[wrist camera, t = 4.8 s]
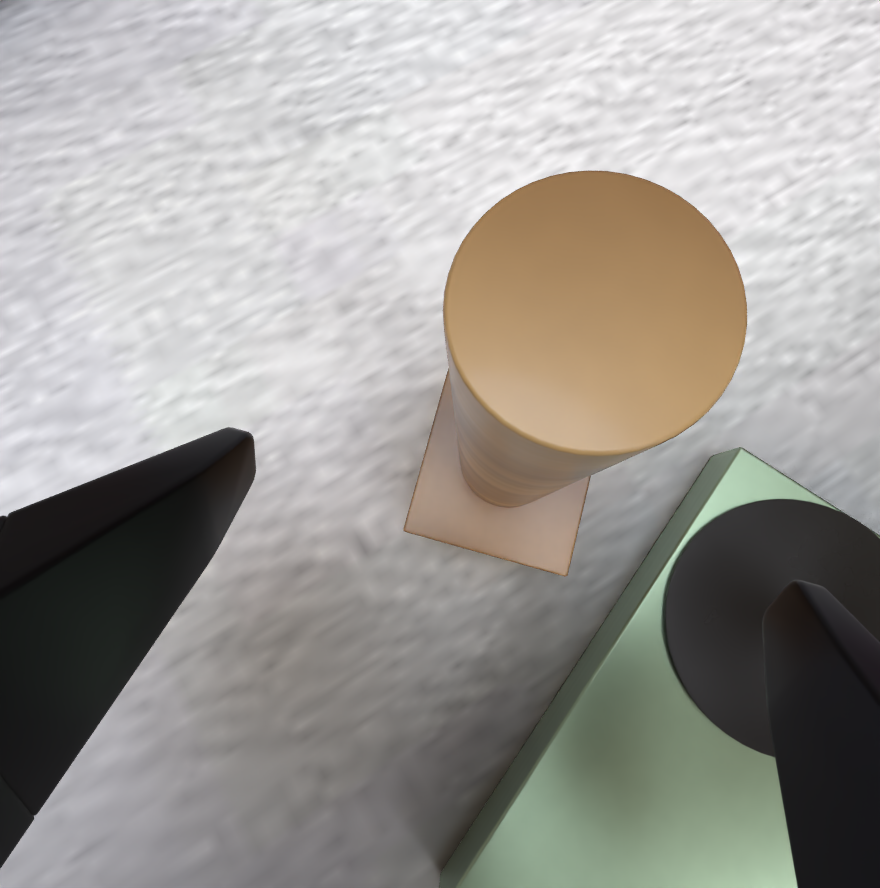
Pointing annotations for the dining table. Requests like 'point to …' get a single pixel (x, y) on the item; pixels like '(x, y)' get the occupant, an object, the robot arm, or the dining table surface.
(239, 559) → the dining table surface
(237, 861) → the dining table surface
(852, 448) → the dining table surface
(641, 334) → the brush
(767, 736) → the hob
